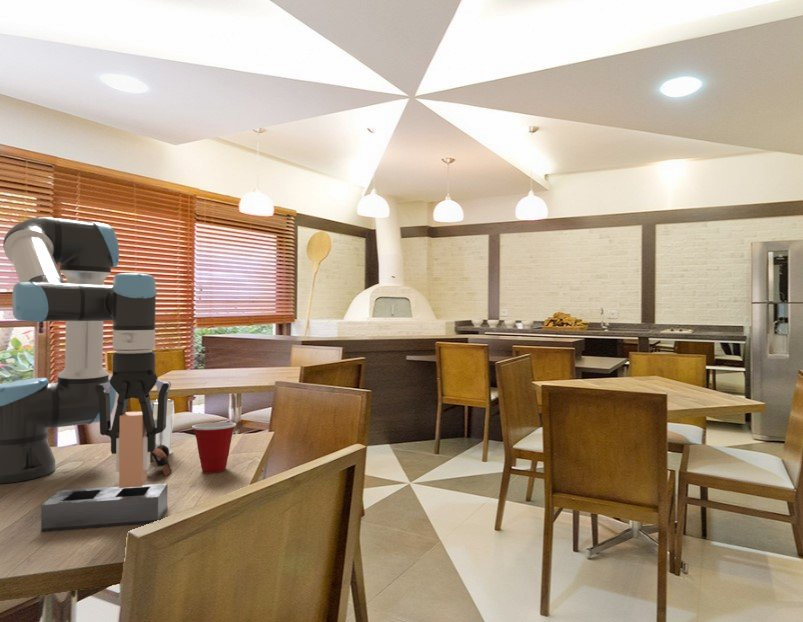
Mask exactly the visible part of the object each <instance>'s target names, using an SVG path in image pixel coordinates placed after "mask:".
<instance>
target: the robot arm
mask: <svg viewBox="0 0 803 622" xmlns="http://www.w3.org/2000/svg"><path fill="white" fill-rule="evenodd" d="M118 241H119V240H118V237H117V235H116V232H115V230H114V228H113V227H112V226H110V225H109V224H106V223H101V222H97V221H96V222H95V221H86V220H77V219H66V218H57V217H55V218H54V217H49V216H47V217H46V216H41V217H40V216H38V217H33V218H28V219H25V220H23V221H21V222H19V223H17V224H14V226H12V227H11V228H9V230H8V231H7V232H6V233H5V235H4V238H3V243H2V245H3V247H2V248H3V251H4V254H5V256H6V258H7V259H8V260H9V261H10V263H13V267H14V269H15V272H16V276H17V279H18V281H19V282H18V283H15V284H14V286H13V289H12V296H11V297H12V299H11V303H12V305H11V306H12V315H13V317H14V318H15V319H16V320H18V321H20V322H34V323H42V322H65V342H64V343H65V346H64V347H65V348H64V349H65V350H64V351H65V352H64V368H63V370H62V371H61V372H60V373H58V375H57V382H50V381H49V380H48V378H47V377H35V378H33V377H32V378H27V379H20V380H14V381H10V382H7V383H3V384H0V484H9V483H18V482H23V481H28V480H33V479H37V478H41V477H45V476H47V475H49V474H51V473H53V472H54V471H55V470H56V458H55V455H54V453H53V451H52V448H51V446H50V444H49V441H48V430H49V429H57V428H63V427H70V426H71V427H72V426H79V425H91V424H95V423H99V433H100V435H101V436H107V437H109V438H110V453H111V455H116V456H115V457H116V458H115V461H116V462H115V465H116V466H115V468H116V469H115V471H116V473H119V433H120V415H123V414H124V413H125V412H127V407H128V404H129V403H128V402H129V400H130V399H137V400H138V402H139V405H140V411H141V412H142V414H143V419H144V424H145V428H146V433H147V434H146V435H145V436H144V437H143V470H147V471H148V469H150V467H151V463H150V452H153V451H154V450H155V448H156V434H157V433H161V432H162V431H163V430H164V429H165V428H166V413H167V400H168V393H169V391H170V388H171V387H172V383H171V382H170V381H164V380H160V379H159V378H158V376H157V374H156V353H155V352H154V351H153V350H155V349H156V302H157V301H156V296H157V292H158V291H157V287H156V279H155V277H154V276H153V275H151V274H146V273H130V272H129V273H127V272H125V273H123V272H121V273H117V274H115V275H114V276H113V281H112V285H110V284H109V285H108V284H105V280H106V278H108V277H109V276H110V275H111V274H112V269H113V268H116V267H117V266H118V265H119V261H120V260H119V259H120V249H119V242H118ZM58 265H59V267H58ZM62 275H63V276H64V277H65V278H66V282H65V280H64V278H63V276H62ZM104 322H112V349H113V351H116V352H113V354H112V375H111V377H110V376H109V375H110V374H109V372H108V371H107V370H106V369H105V368H104V367H103V363H104V362H103V359H104V357H103V354H104V353H103V351H104ZM155 386H156V391H157V392H158V395H157V400H158V411H157V427H155V422H154V417H153V413H152V408H151V404H150V401H151V396H150V392H151V391H152V389H153V388H154V387H155ZM117 394H118V397H117ZM116 397H117V400H116ZM115 403H117V405H116V408H115V413H114V416H113V422H111V421H112V420H111V419H112V418H111V415H112V413H113V410H114V407H115Z"/></svg>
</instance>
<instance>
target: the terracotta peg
mask: <svg viewBox="0 0 803 622" xmlns="http://www.w3.org/2000/svg"><path fill="white" fill-rule="evenodd" d="M146 434H147V433H146V428H145V424H144V419H143V414H142V411H126V412H125V413H124V414H123V415H120V433H119V472H118V473H119V474H118V476H119V477H118V487H119V488H129V487H142V485H145V483H146V482H147V480H148V469H147V470H143V437H144V436H145V435H146Z"/></svg>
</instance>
